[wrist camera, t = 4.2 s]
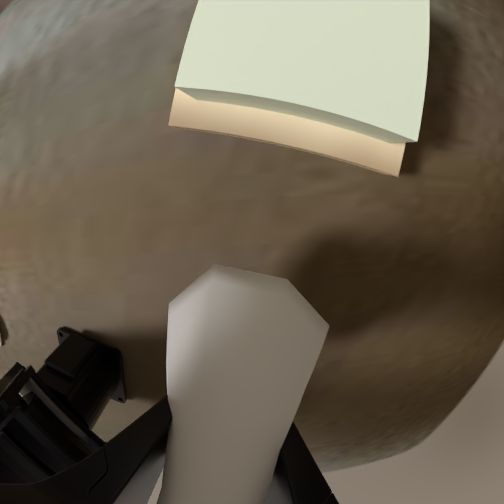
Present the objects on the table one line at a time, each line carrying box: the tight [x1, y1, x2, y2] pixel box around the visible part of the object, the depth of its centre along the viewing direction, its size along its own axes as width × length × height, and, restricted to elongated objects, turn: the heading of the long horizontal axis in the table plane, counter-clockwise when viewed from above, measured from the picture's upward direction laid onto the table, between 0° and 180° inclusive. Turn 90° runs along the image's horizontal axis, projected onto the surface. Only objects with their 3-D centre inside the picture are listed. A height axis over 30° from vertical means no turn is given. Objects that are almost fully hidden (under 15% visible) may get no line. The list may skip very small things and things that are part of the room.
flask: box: [157, 264, 329, 504], centre depth 8 cm, size 7×7×10 cm
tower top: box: [175, 0, 430, 143], centre depth 9 cm, size 9×9×3 cm
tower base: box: [168, 88, 406, 177], centre depth 12 cm, size 11×11×3 cm
